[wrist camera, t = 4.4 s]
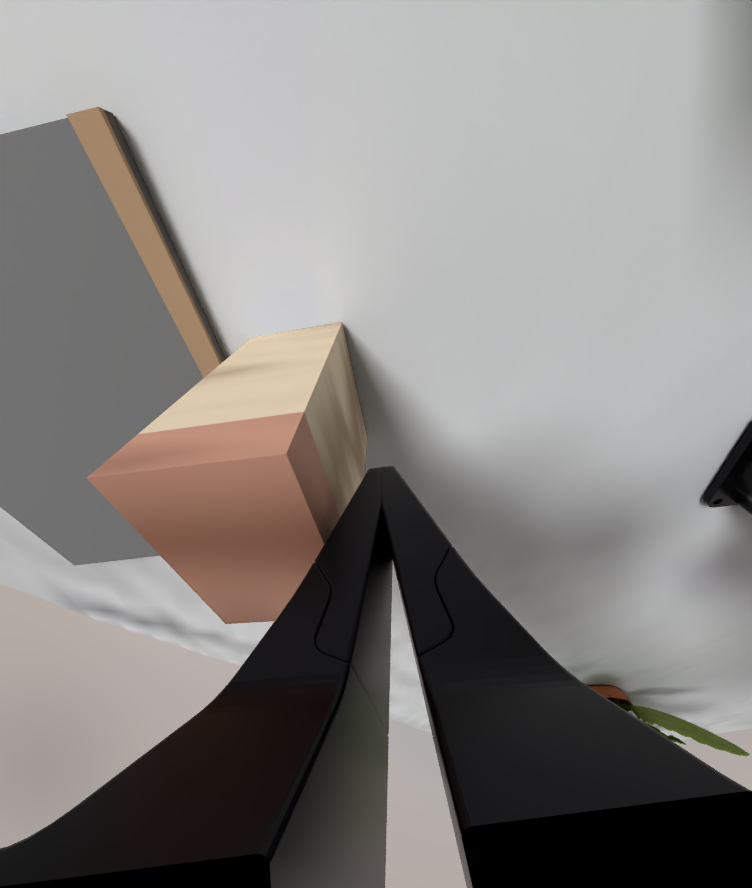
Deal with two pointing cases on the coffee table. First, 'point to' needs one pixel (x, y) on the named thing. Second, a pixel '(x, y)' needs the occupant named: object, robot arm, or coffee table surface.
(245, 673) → the robot arm
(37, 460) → the mat
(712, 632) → the coffee table surface
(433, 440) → the coffee table surface
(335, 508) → the maple block
